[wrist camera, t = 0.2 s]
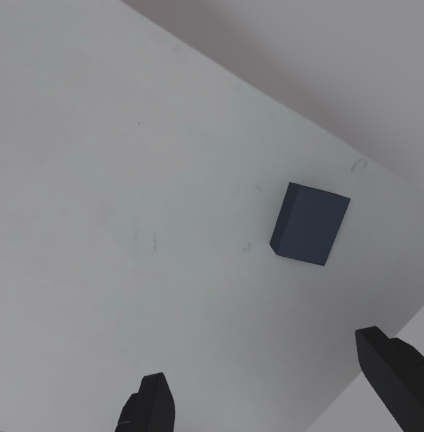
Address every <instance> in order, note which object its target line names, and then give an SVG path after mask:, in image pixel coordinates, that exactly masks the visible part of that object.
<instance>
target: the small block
mask: <svg viewBox="0 0 424 432" xmlns="http://www.w3.org/2000/svg"><path fill="white" fill-rule="evenodd" d="M349 202H350V198H347V197H344V196H341V195H337V194H334V193H330V192H326V191H322V190H319V189H315V188H311V187H307V186H303V185H299V184H295V183H291V182H290V183H289V186H288V189H287V192H286V195H285V198H284V201H283V204H282V207H281V210H280V213H279V216H278V219H277V223H276V226H275V229H274V232H273V235H272V238H271V241H270V246H271V247H272V249H273V250H274V252H275V253H276V255H279V256H283V257H287V258H292V259H296V260H300V261H305V262H309V263H313V264H318V265H322V266H324V265H325V263H326V260H327V258H328V255H329V253H330V250H331V248H332V245H333V243H334V240H335V238H336V235H337V232H338V230H339V227H340V225H341V222H342V220H343V217H344V215H345V212H346V210H347V207H348V204H349Z"/></svg>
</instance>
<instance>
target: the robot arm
mask: <svg viewBox="0 0 424 432" xmlns="http://www.w3.org/2000/svg"><path fill="white" fill-rule="evenodd" d="M355 337H356V345H357V352H358V360H359V364H360V367H361V369H362V371H363V373H364V375H365V377H366V378H367V380H368V381H369V383H370V384H371V386H372V387H373V388H374V390H375V391H376V393H377V394H378V396H379V397H380V398H381V400H382V401H383V403H384V404H385V406H386V407H387V408H388V410H389V411H390V413H391V414H392V416H393V417H394V418H395V420H396V421H397V423H398V424H399V426H400V427H401V428H402V430H403V431H404V432H424V356H423V355H421V354H420V353H419V352H418V351H417V350H416V349H415V348H414V347H413V346H411V345H409V344H407V343H406V342H404V341H402V340H400V339H399V338H391V339H389V338H388V337H387V336H386V335H385V334H384V333H383V332H382V331H381V330H380V329H379V328H378V327H376V326H373V327H368V328H364V329H359V330H356V331H355ZM174 421H175V404H174V399H173V397H172V394H171V391H170V389H169V386H168V384H167V381H166V378H165V376H164V374H163V373H162V372H161V373H156V374H152V375H147V376H144V377H143V379H142V382H141V385H140V389H139V392H138V393H134V394H132V395H131V396H130V398H129V399H128V401H127V402H126V404H125V405H124V407H123V409H122V412H121V415H120V418H119V421H118V426H117V427H116V430H115V432H173V429H174Z"/></svg>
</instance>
